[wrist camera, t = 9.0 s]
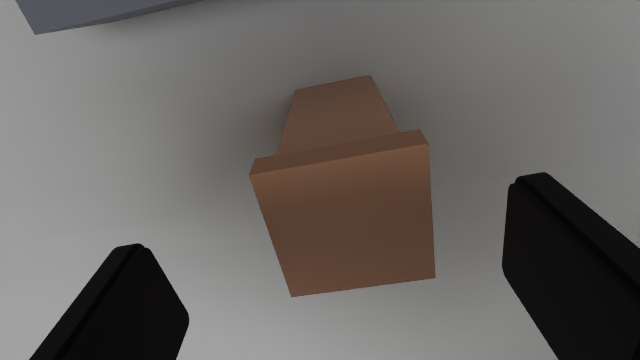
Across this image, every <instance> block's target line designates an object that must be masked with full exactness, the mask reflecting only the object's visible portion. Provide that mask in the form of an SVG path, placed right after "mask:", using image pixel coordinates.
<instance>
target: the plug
mask: <svg viewBox="0 0 640 360" xmlns="http://www.w3.org/2000/svg"><path fill="white" fill-rule="evenodd" d="M249 177H250V180H251V183H252V186H253V189H254V191H255V194H256V197H257V200H258V203H259V206H260V209H261V211H262V214H263V217H264V220H265V223H266V226H267V229H268V231H269V234H270V237H271V240H272V243H273V246H274V249H275V251H276V254H277V257H278V260H279V263H280V266H281V269H282V271H283V274H284V277H285V280H286V283H287V286H288V289H289V291H290V294H291V297H296V296H304V295H311V294H319V293H326V292H334V291H341V290H349V289H356V288H364V287H371V286H379V285H386V284H394V283H401V282H409V281H416V280H424V279H431V278H435V260H434V242H433V223H432V205H431V186H430V168H429V149H428V142H427V141H426V139H425V138H424V136H423V135H422V133H421V132H420V130H419V129H418V130H412V131H407V132H402V133H399V131H398V129H397V127H396V125H395V123H394V121H393V119H392V117H391V115H390V113H389V111H388V109H387V107H386V105H385V103H384V101H383V99H382V97H381V95H380V93H379V91H378V89H377V87H376V85H375V83H374V81H373V79H372V77H371V76H370V75H369V76H364V77H359V78H354V79H349V80H344V81H339V82H334V83H329V84H324V85H319V86H314V87H309V88H305V89H300V90H295V93H294V97H293V100H292V103H291V107H290V110H289V113H288V117H287V120H286V124H285V127H284V130H283V134H282V137H281V140H280V144H279V147H278V150H277V154H276V155H275V156H270V157H264V158H259V159H255V162H254V164H253V166H252V169H251V171H250V174H249Z"/></svg>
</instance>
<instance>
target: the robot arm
mask: <svg viewBox="0 0 640 360" xmlns="http://www.w3.org/2000/svg"><path fill="white" fill-rule="evenodd" d="M502 269H503V272H504V275H505V277H506V279H507V281H508V282H509V284H510V285H511V287H512V289H513V290H514V292H515V293H516V295H517V296H518V298H519V299H520V301H521V302H522V304H523V306H524V307H525V309H526V310H527V312H528V313H529V315H530V316H531V318H532V319H533V321H534V322H535V324H536V326H537V327H538V329H539V330H540V332H541V333H542V335H543V336H544V338H545V339H546V341H547V343H548V344H549V346H550V347H551V349H552V350H553V352H554V353H555V355H556V356H557V358H558V360H640V248H638V247H637V246H636V245H635V244H634V243H632V242H631V241H630V240H629V239H627V238H626V237H625V236H624V235H623V234H621V233H620V232H619V231H618V230H616V229H615V228H614V227H613V226H611V225H610V224H609V223H608V222H607V221H605V220H604V219H603V218H602V217H600V216H599V215H598V214H597V213H596V212H594V211H593V210H592V209H591V208H589V207H588V206H587V205H586V204H584V203H583V202H582V201H581V200H580V199H578V198H577V197H576V196H575V195H573V194H572V193H571V192H570V191H569V190H567V189H566V188H565V187H564V186H562V185H561V184H560V183H559V182H557V181H556V180H555V179H554V178H553V177H551V176H550V175H549V174H547V173H545V172H541V173H536V174H530V175H524V176H519V177H517V179H516V180H515V183H513V184H510V186H509V189H508V199H507V211H506V223H505V234H504V246H503V258H502ZM188 325H189V315H188V312H187V310H186V309H185V307H184V305H183V304H182V302H181V300H180V299H179V297H178V295H177V294H176V292H175V290H174V289H173V287H172V285H171V284H170V282H169V280H168V279H167V277H166V275H165V274H164V272H163V270H162V269H161V267H160V265H159V264H158V262H157V260H156V259H155V257H154V255H153V253H152V252H151V250H150V249H148V248H145V247H144V246H143V245H141V244H138V243H137V244H131V245H125V246H120V247H116V248H115V249H114V250H112V252H111V253H110V254H109V256H108V257H107V258H106V260H105V261H104V262H103V263H102V265H101V266H100V267H99V269H98V270H97V271H96V273H95V274H94V275H93V277H92V278H91V279H90V281H89V282H88V283H87V284H86V286H85V287H84V288H83V290H82V291H81V292H80V294H79V295H78V296H77V298H76V299H75V300H74V302H73V303H72V304H71V305H70V307H69V308H68V309H67V311H66V312H65V313H64V315H63V316H62V317H61V319H60V320H59V321H58V323H57V324H56V325H55V326H54V328H53V329H52V330H51V332H50V333H49V334H48V336H47V337H46V338H45V340H44V341H43V342H42V344H41V345H40V346H39V347H38V349H37V350H36V351H35V353H34V354H33V355H32V357H31V358H30V359H29V360H176V358H177V355H178V353H179V350H180V347H181V345H182V342H183V339H184V337H185V334H186V331H187V328H188Z"/></svg>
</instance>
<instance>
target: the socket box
mask: <svg viewBox="0 0 640 360" xmlns="http://www.w3.org/2000/svg"><path fill="white" fill-rule="evenodd" d="M198 1H202V0H16V2H17V4H18V6H19V7H20V9H21V11H22V13H23V14H24V16H25V18H26V20H27V21H28V23H29V25H30V27H31V28H32V30H33V32H34V34H35V35H36V34H43V33H49V32H55V31H61V30H67V29H73V28H79V27H86V26H92V25H98V24H104V23H110V22H115V21H119V20H123V19H127V18H131V17H135V16H140V15H144V14H148V13H152V12H156V11H160V10H164V9H169V8H173V7H177V6H181V5H185V4H189V3H193V2H198Z"/></svg>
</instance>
